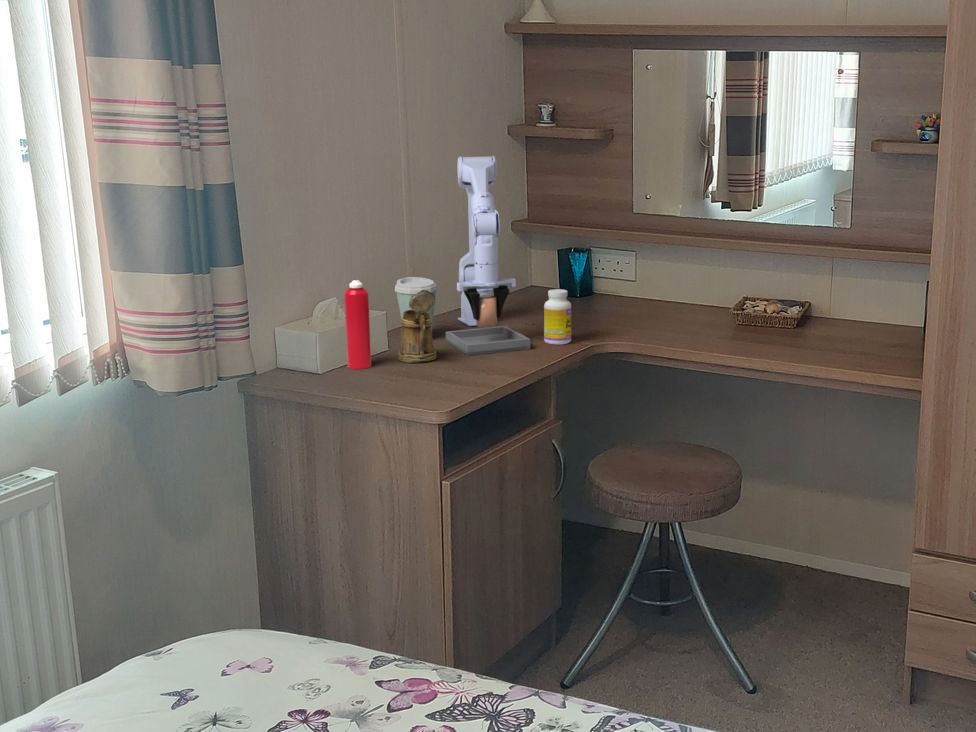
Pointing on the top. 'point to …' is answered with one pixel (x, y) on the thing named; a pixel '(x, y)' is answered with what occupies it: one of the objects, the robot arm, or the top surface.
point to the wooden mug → (417, 330)
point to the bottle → (357, 326)
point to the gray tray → (487, 340)
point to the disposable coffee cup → (413, 292)
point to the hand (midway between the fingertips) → (486, 318)
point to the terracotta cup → (487, 311)
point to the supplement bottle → (557, 318)
